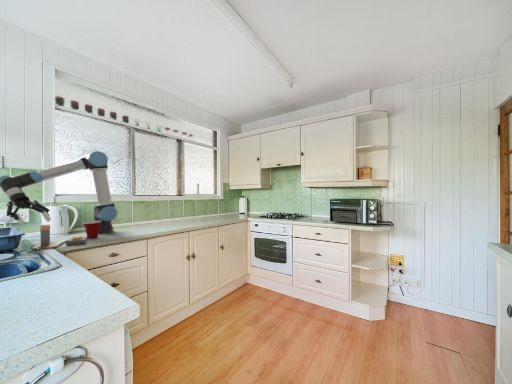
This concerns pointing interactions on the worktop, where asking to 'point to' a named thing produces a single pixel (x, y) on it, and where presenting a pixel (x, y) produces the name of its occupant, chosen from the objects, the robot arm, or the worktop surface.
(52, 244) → the picture board
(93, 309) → the worktop surface
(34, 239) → the worktop surface
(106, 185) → the robot arm
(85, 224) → the plastic cup
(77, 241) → the button housing
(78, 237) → the button
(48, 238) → the marker
